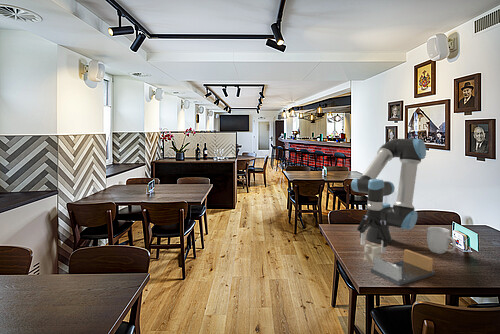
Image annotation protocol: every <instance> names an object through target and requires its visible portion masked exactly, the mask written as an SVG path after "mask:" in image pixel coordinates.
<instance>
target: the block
mask: <svg viewBox="0 0 500 334" xmlns="http://www.w3.org/2000/svg"><path fill="white" fill-rule="evenodd" d="M363 248H364V253H363V254H364V255H363V260H364V261H367V262H369V263H372V264H373V261H374V257H378V258H380V259H382V253H381V245H378V244H377V243H375V242H372V243H365V245H364V247H363Z"/></svg>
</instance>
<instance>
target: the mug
mask: <svg viewBox="0 0 500 334" xmlns="http://www.w3.org/2000/svg"><path fill="white" fill-rule="evenodd" d="M450 240H451V241H452V243H453V247H452V248H451V249H448V247H449V243H450ZM426 242H427V247H428V249H429V250H430V252H431V253H434V254H439V255H442V254H445V253H446V252H453V251H454V250H455V249H456V247H457V243H456V239H454V237H452V236H451V230H449V229H448V228H444V227H439V226H429V227H427V233H426Z"/></svg>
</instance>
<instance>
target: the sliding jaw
mask: <svg viewBox="0 0 500 334" xmlns="http://www.w3.org/2000/svg"><path fill="white" fill-rule="evenodd" d="M403 260H404V262H407V263H409V264H412V265H414V266H417V267H419V268H422V269H424V270H427V271H429V272H430V271H433V264H434V262H433V261H434V258H432V257H429V256H427V255H424V254H421V253H418V252H415V251H413V250H409V249H404V250H403Z"/></svg>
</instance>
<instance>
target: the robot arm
mask: <svg viewBox="0 0 500 334" xmlns="http://www.w3.org/2000/svg"><path fill="white" fill-rule="evenodd" d="M426 155H427V147H426V143H425V142H424V141H423V139H421V138H394V139H390V140H388V141H387V142H385V143H384V144H382V145H381V147H380V148H379V149H378V150H377V153H376V155H375V157H374V158H373V160H372V161H371V162H370V164H369V165H368V166H367V168H366V169H365V171H364V172H363V173H362V174H361V176H360V177H359V178H353V179H352V181H351V183H350V185H351V187H350V188H351V190H352V191H353V192H357V193H362V194H363V193H364V194H367V206H366V207H367V209H366V214H365V215H362V218H361V220H360V222H359V224H358V226H357V229H356V230H357V231H358V232H359V239H360V246H365V245H366V240H367V241H369V242H372V243H374V244H380V246H381V254H385V253H386V251H387V247H388V244H390V243H391V242H393V241H392V239H393V238H392V236H391V231H390V227H393V228H398V229H402V230H411V229H413V228H414V227H415V225H416V223H417V220H418V212H417V210H415V206H414V205H413V201H414V200H413V199H414V195H415V193H414V192H415V187H416V186H415V185H416V180H417V172H418V165H419V164H420V163H421V162H422V160H423V159H425V158H426ZM394 158H399V161H400V164H401V167H400V175H399V179H398V180H399V181H398V187H397V196H396V201H395V203H393V204H392V206H391V204H390V203H387V202H386V203H385V202H384V197H385V196H390V195H391V194H392V195H393V193H394V192H395V185H394V183H393V182H391V181H388V180H385V181H384V179H379V178H378V177H379V175H380V173H381V172H382V171H383V169H385V167H386V165H387V164H388V162H389V161H390V162H391V161H392V159H394ZM366 231H367V232H366Z"/></svg>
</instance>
